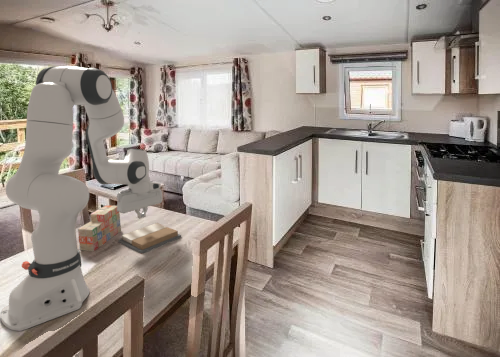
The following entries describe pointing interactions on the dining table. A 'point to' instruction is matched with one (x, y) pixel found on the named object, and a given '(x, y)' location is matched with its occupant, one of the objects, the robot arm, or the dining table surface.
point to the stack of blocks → (99, 228)
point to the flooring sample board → (152, 240)
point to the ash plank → (142, 232)
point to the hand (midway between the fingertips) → (141, 217)
